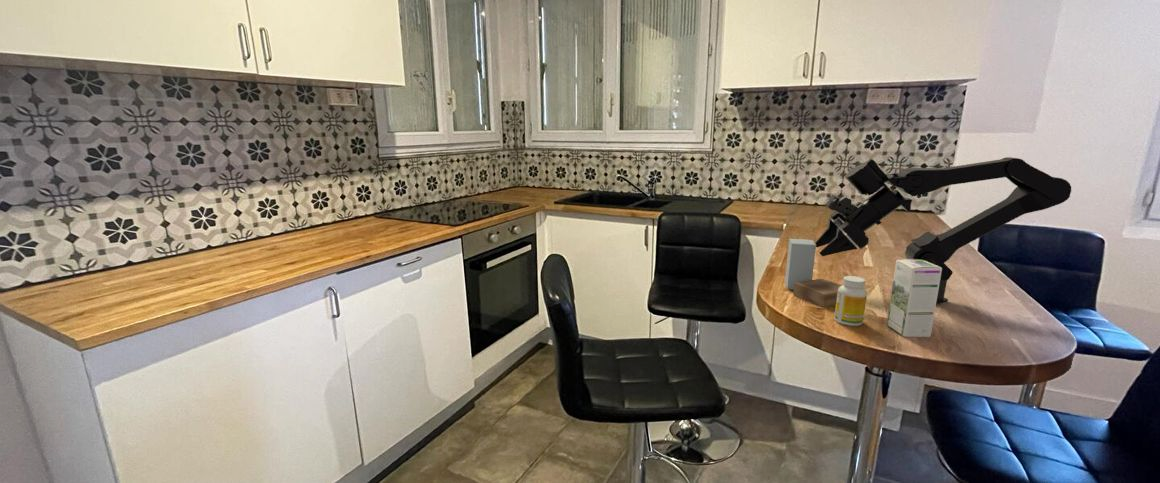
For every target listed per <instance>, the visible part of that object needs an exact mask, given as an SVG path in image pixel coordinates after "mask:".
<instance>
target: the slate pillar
mask: <svg viewBox="0 0 1160 483" xmlns="http://www.w3.org/2000/svg"><path fill="white" fill-rule="evenodd" d="M815 243H816V242H815V241H814V240H813V239H803V238H802V239H801V238H789V239H788V246H787V247H788V248H787V258H786V259H787V260H786V266H785V267H786V268H785V278H784V284H785V286H786V287H785V288H786V289H787V290H793V291H794V283H796V282H803V281H809V280H813V275H814V266H815V258H816V249H817V247H816V244H815Z"/></svg>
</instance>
